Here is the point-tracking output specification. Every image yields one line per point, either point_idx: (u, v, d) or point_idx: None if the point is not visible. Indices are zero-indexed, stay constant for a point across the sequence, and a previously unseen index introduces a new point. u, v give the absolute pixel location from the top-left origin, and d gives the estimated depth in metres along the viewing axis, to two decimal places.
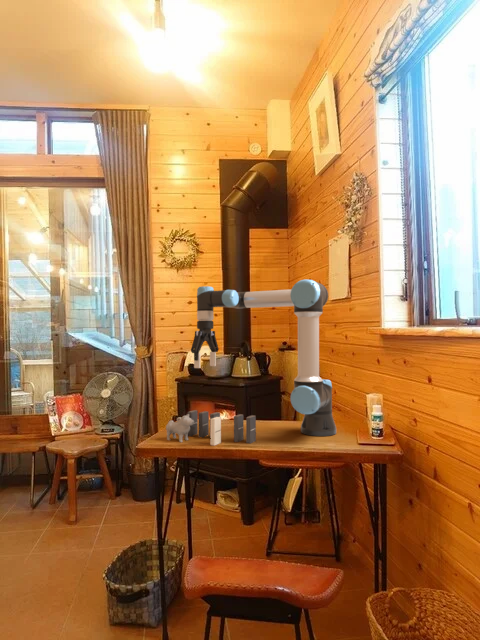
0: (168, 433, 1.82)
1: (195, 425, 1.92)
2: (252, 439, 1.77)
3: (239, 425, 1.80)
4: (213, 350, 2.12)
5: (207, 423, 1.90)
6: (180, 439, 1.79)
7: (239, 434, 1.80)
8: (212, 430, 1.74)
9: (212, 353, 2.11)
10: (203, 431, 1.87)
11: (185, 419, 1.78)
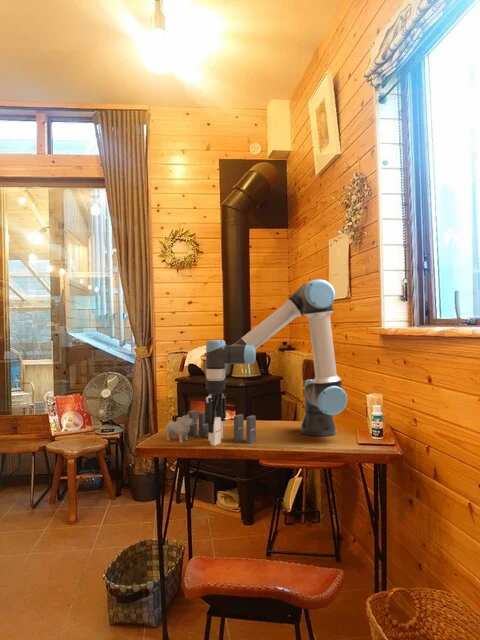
0: (168, 433, 1.82)
1: (195, 425, 1.92)
2: (252, 439, 1.77)
3: (239, 425, 1.80)
4: None
5: None
6: (180, 439, 1.79)
7: (239, 434, 1.80)
8: None
9: None
10: (203, 431, 1.87)
11: (185, 419, 1.78)
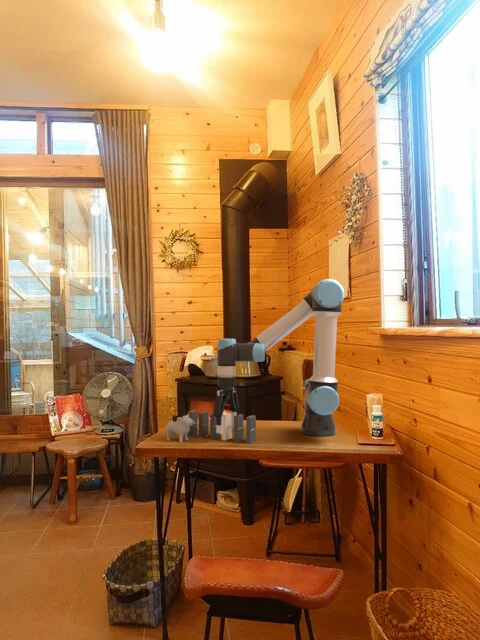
0: (168, 433, 1.82)
1: (195, 425, 1.92)
2: (252, 439, 1.77)
3: (239, 425, 1.80)
4: (234, 410, 1.89)
5: (207, 423, 1.90)
6: (180, 439, 1.79)
7: (239, 434, 1.80)
8: (223, 426, 1.82)
9: (232, 413, 1.89)
10: (203, 431, 1.87)
11: (185, 419, 1.78)
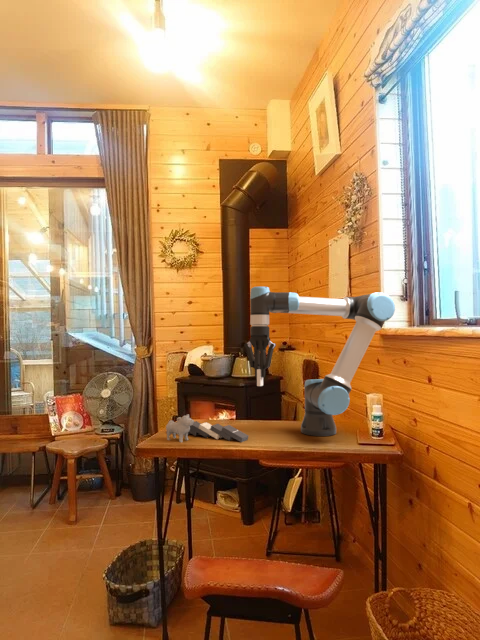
0: (168, 433, 1.82)
1: None
2: (242, 436, 1.80)
3: (220, 428, 1.85)
4: None
5: None
6: (180, 439, 1.79)
7: None
8: (207, 431, 1.85)
9: None
10: None
11: (185, 419, 1.78)
